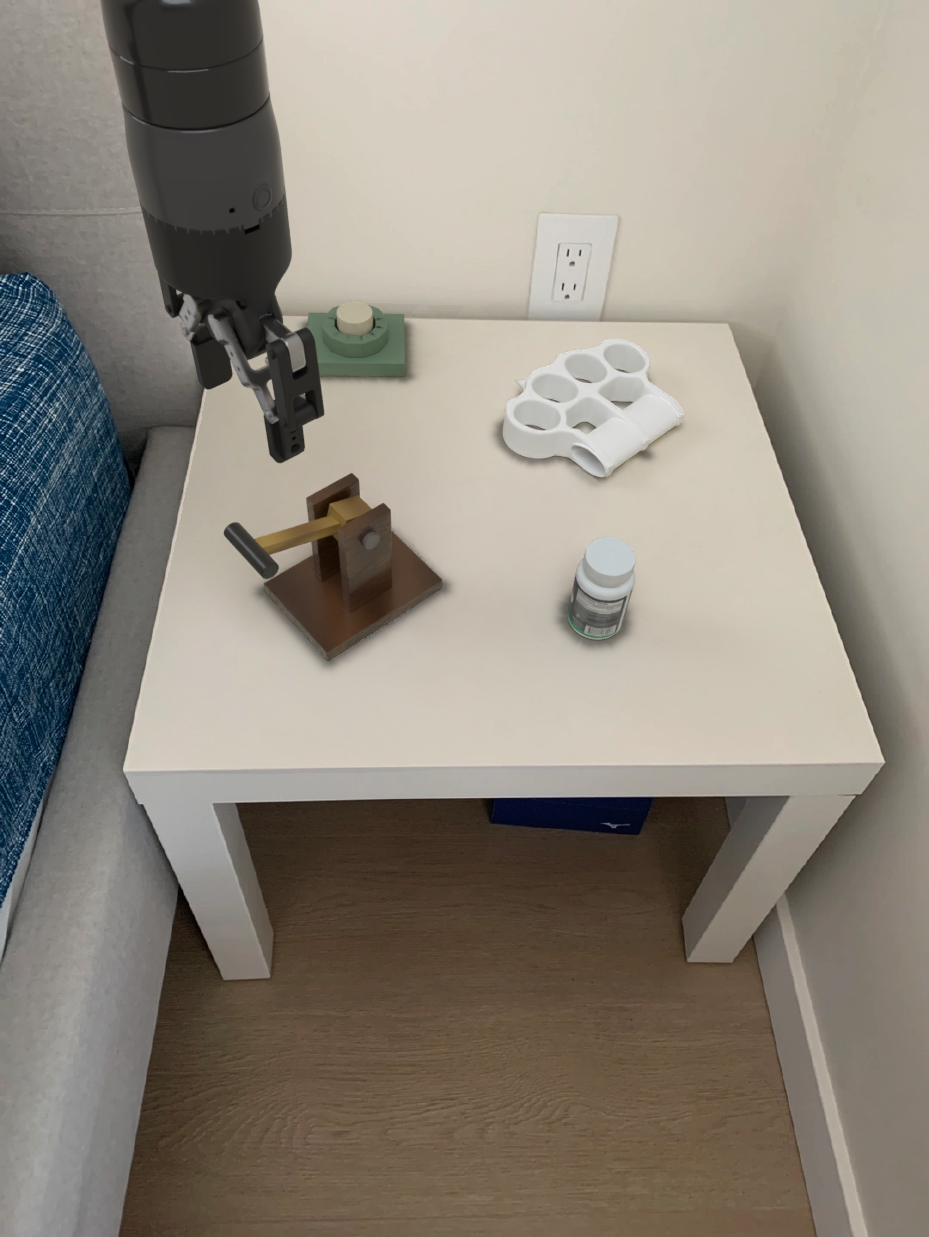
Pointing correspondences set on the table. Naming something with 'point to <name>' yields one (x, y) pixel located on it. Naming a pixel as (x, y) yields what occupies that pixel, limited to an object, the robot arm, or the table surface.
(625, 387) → the knuckle duster
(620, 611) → the pill bottle
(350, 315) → the button
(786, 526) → the table surface
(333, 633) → the switch bracket
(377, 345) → the button block
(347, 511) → the switch lever
